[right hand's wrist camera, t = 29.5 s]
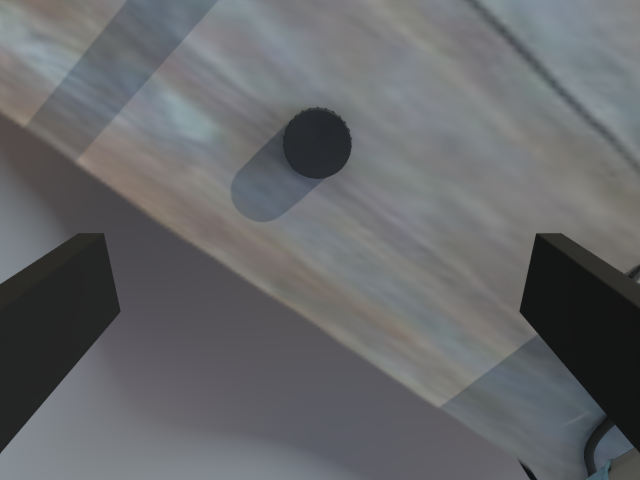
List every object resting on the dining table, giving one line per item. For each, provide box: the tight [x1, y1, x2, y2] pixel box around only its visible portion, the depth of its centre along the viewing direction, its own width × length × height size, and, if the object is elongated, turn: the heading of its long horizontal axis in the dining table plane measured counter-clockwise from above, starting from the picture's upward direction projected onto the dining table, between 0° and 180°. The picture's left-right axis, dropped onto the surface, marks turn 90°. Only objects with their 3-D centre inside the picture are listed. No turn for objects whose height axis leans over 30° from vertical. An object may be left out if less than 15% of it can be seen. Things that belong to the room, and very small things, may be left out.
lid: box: [283, 107, 352, 179], centre depth 36 cm, size 6×6×2 cm
